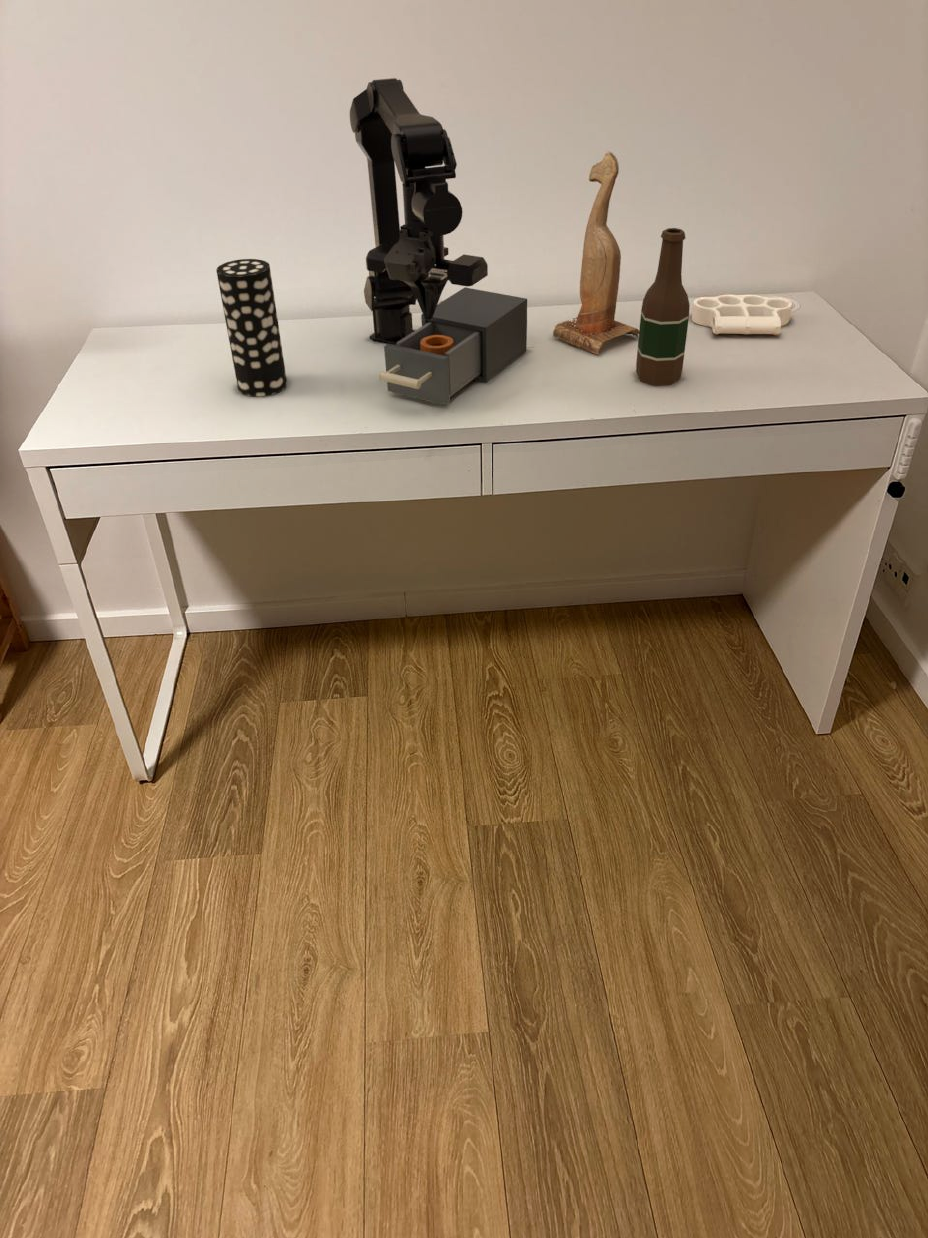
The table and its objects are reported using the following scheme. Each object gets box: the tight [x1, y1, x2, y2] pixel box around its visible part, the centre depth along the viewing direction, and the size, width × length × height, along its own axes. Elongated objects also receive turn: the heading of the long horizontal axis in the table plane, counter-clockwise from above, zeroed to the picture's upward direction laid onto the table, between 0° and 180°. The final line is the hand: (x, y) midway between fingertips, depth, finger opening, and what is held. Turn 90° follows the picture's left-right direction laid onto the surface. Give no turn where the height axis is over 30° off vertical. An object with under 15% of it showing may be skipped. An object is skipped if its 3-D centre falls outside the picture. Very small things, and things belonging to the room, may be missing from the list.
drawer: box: [379, 321, 483, 406], centre depth 158 cm, size 18×11×8 cm, turn 150°
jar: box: [420, 335, 454, 356], centre depth 160 cm, size 5×5×6 cm
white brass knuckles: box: [691, 293, 793, 336], centre depth 180 cm, size 3×18×15 cm
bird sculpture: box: [552, 150, 639, 355], centre depth 167 cm, size 11×12×32 cm
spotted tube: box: [215, 258, 288, 397], centre depth 159 cm, size 8×8×20 cm
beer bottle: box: [635, 227, 691, 387], centre depth 156 cm, size 8×8×24 cm
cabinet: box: [420, 286, 528, 383], centre depth 168 cm, size 15×13×10 cm
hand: (428, 318), depth 153 cm, fingers closed
